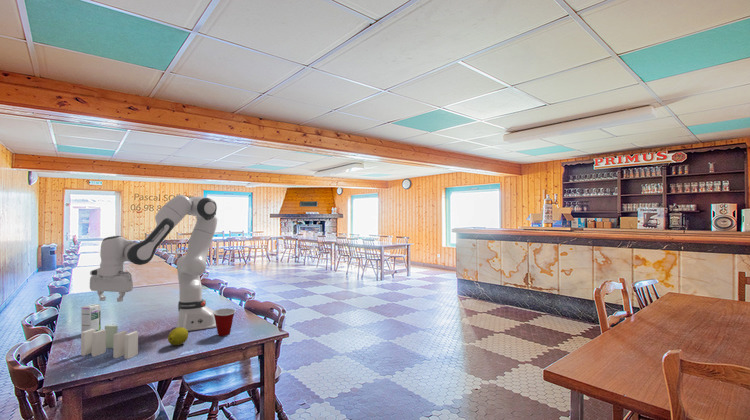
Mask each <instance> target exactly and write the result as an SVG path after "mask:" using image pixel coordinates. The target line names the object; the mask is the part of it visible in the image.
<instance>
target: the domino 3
mask: <svg viewBox="0 0 750 420" xmlns="http://www.w3.org/2000/svg"><path fill="white" fill-rule="evenodd" d="M118 327H119V326H118V325H116V324H107V325H104V330H106V349H113V346H114V334H116V333H118V330H119V329H118Z"/></svg>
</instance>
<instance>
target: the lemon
mask: <svg viewBox="0 0 750 420" xmlns="http://www.w3.org/2000/svg"><path fill="white" fill-rule="evenodd" d="M188 339H189V331H187V330H186V329H185V328H183V327H178V328H176V327H175V328H173V329H172V330H170V332H169V334H168V335H167V341H168V343H169V344H170V345H173V346H180V345H182V344H184V343H185V342H186V341H187V340H188Z"/></svg>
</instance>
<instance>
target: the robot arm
mask: <svg viewBox="0 0 750 420" xmlns="http://www.w3.org/2000/svg"><path fill="white" fill-rule="evenodd" d="M217 206H218V205H217V203H216V201H215V200H213V199H212V198H210V197H204V196H186V195H184V194H177V195H175V196H174V197H172V198H171V199H170V200H168V201H167V202H166V203H165V204H164V205H162V207H161V208H160V209H159V210H158V212H156V214H155V217H154V220H155V223H156V224H155V225H156V226H155V228H154V229H152V231H151V232H150V233H149V234H148V236H147V237H145V239H144V240H142V241H141V242H140V241H139V242H136V241H132V240H129V239H127V238H125V237H123V236H122V235H113V236H108V237H105V238H104V239H102V241H101V242H100V243H101V244H100V249H99V250H100V252H99V255H100V264H99V267H98V268H96V269H92V270H90V272H89V275H90V278H89V289H90V291H91V292H96V293H97V296H98V297H99V301H100V302H104V301H106V299H107V297H106V296H105V295H104V293H105V292H109V293H111V292H113V293H116V292H117V293H118V295H119V296H118V297H117V298H116V302H118V303H119V302H121V303H122V302H123V301H124V297H125V295H126V293H130V292H132V291H133V289H134V284H133V277H132V274H131V273H130V271H124V263H125V262H129V263H132V264H134V265H138V266H142V265H143V266H144V265H146V264H148V263H149V262H151V261H152V259H153V258H154V256H155V252H156V250H157V249H158V247H159V246H160V245H161V243H163V242H164V240H165V239H166V237H168V235H169V234H170V233H171V232H172V230H174V228H175V227H176V226H177V225H178V224H179V223H180V222H181V221H182V220H183V219H184V218H185V217H186V216H187V215H188V216H192V217H193V216H194V217H195V218H196V223H195V224H194V227H193V229H192V232H191V234H190V237H189V240H188V241H187V251H186V254H183V255H182V256H180V257H179V258H178V259H177V261H176V269H177V279H178V285H179V291H178V292H179V297H178V298H179V300H178V304H177V309H178V310H177V311H178V316H177V323H176V325H175V328H178V327H183V328H185V329H186V330H187V331H188V332H189V331H197V330H205V329H211V328H216V322H215V316H214V314H213V311H214V310H213V309H212V308H210V307H208V306H207V305H206V304H207V301H206V299H203V297H202V296H203V288H202V287H203V286H202V281H201V275H202V274H204V272H205V271H206V270H207V260H208V255H209V250H210V246H211V244H212V241H213V238H214V235H215V232H216V229H217V224H218V218H217V216H216V215H217V208H218V207H217Z"/></svg>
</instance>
